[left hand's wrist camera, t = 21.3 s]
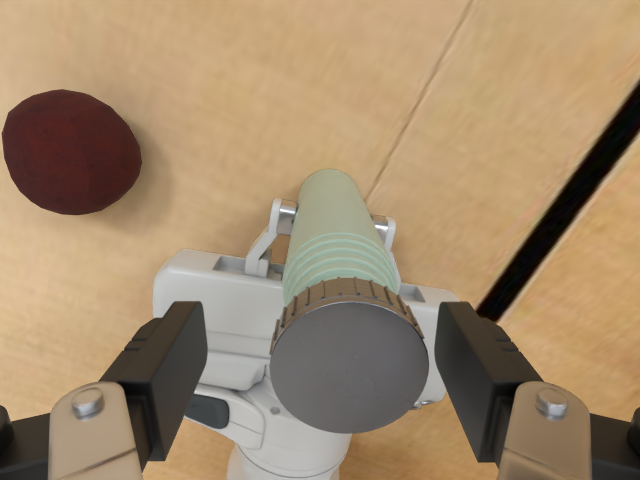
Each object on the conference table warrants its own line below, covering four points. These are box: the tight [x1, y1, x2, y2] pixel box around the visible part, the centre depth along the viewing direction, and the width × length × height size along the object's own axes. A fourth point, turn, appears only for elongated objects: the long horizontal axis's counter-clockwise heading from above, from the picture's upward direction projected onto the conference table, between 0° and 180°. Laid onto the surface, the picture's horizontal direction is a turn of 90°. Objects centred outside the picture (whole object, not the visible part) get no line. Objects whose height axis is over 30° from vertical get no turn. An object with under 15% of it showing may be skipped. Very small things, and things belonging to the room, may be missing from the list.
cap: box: [269, 277, 429, 434], centre depth 12 cm, size 5×5×2 cm
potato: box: [2, 89, 142, 215], centre depth 25 cm, size 7×8×7 cm
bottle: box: [282, 169, 397, 307], centre depth 21 cm, size 5×5×20 cm
